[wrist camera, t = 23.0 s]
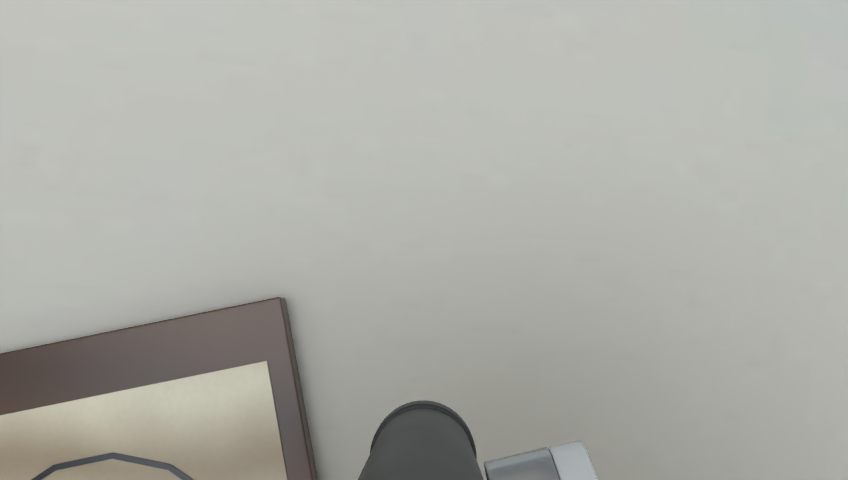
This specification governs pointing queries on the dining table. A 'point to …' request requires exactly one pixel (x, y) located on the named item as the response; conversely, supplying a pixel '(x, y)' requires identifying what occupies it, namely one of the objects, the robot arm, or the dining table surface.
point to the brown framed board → (160, 402)
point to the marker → (422, 446)
